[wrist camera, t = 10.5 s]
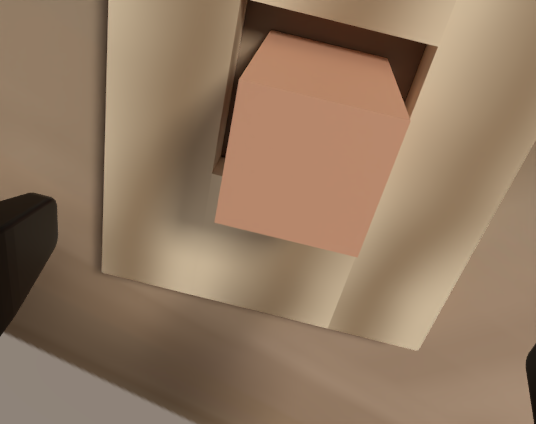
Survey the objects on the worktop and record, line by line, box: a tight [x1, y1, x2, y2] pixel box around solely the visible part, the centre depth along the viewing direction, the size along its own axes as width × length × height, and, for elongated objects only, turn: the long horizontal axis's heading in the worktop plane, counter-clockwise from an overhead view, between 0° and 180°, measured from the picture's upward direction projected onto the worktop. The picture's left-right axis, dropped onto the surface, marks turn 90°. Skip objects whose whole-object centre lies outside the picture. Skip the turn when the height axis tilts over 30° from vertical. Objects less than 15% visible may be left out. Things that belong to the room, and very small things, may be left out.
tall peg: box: [214, 30, 411, 258], centre depth 14 cm, size 4×4×6 cm
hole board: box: [102, 0, 536, 351], centre depth 16 cm, size 14×18×2 cm
